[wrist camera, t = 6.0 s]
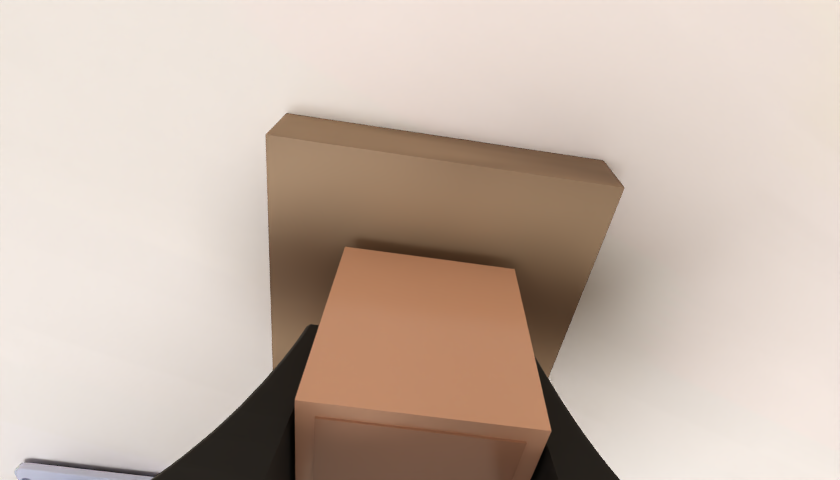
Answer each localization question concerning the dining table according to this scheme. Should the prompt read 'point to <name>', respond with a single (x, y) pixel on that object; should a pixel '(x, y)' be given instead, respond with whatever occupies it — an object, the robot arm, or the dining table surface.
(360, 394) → the terracotta block
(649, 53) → the dining table surface
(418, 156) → the walnut board
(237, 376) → the dining table surface
